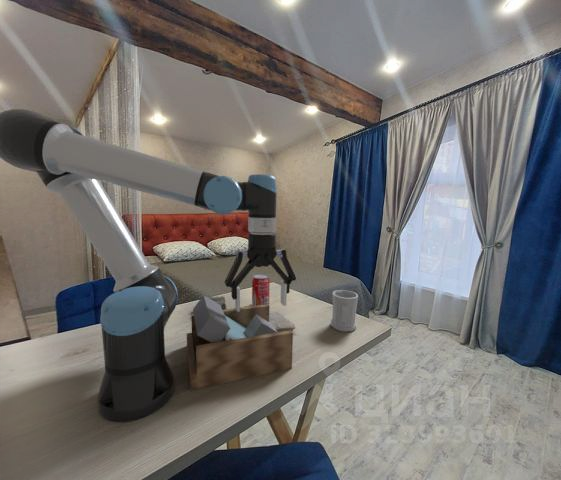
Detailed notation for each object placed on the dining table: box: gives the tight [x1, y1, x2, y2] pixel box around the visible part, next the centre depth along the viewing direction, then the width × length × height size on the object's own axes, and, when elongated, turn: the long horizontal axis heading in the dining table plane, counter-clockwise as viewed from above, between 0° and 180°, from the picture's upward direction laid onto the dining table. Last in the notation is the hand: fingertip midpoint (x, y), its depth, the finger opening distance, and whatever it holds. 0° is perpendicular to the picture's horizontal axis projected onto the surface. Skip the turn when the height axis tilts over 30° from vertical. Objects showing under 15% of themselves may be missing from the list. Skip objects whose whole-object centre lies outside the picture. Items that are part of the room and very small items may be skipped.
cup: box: [330, 289, 359, 333], centre depth 95 cm, size 10×9×12 cm
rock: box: [207, 295, 227, 310], centre depth 107 cm, size 13×9×6 cm, turn 51°
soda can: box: [251, 273, 270, 306], centre depth 113 cm, size 7×7×13 cm
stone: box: [269, 311, 296, 332], centre depth 96 cm, size 15×11×3 cm
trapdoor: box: [192, 294, 247, 343], centre depth 76 cm, size 23×17×5 cm
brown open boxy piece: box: [186, 304, 294, 391], centre depth 76 cm, size 26×20×10 cm
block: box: [244, 315, 277, 337], centre depth 79 cm, size 6×6×6 cm
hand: (261, 307), depth 78 cm, fingers open, 13 cm apart
